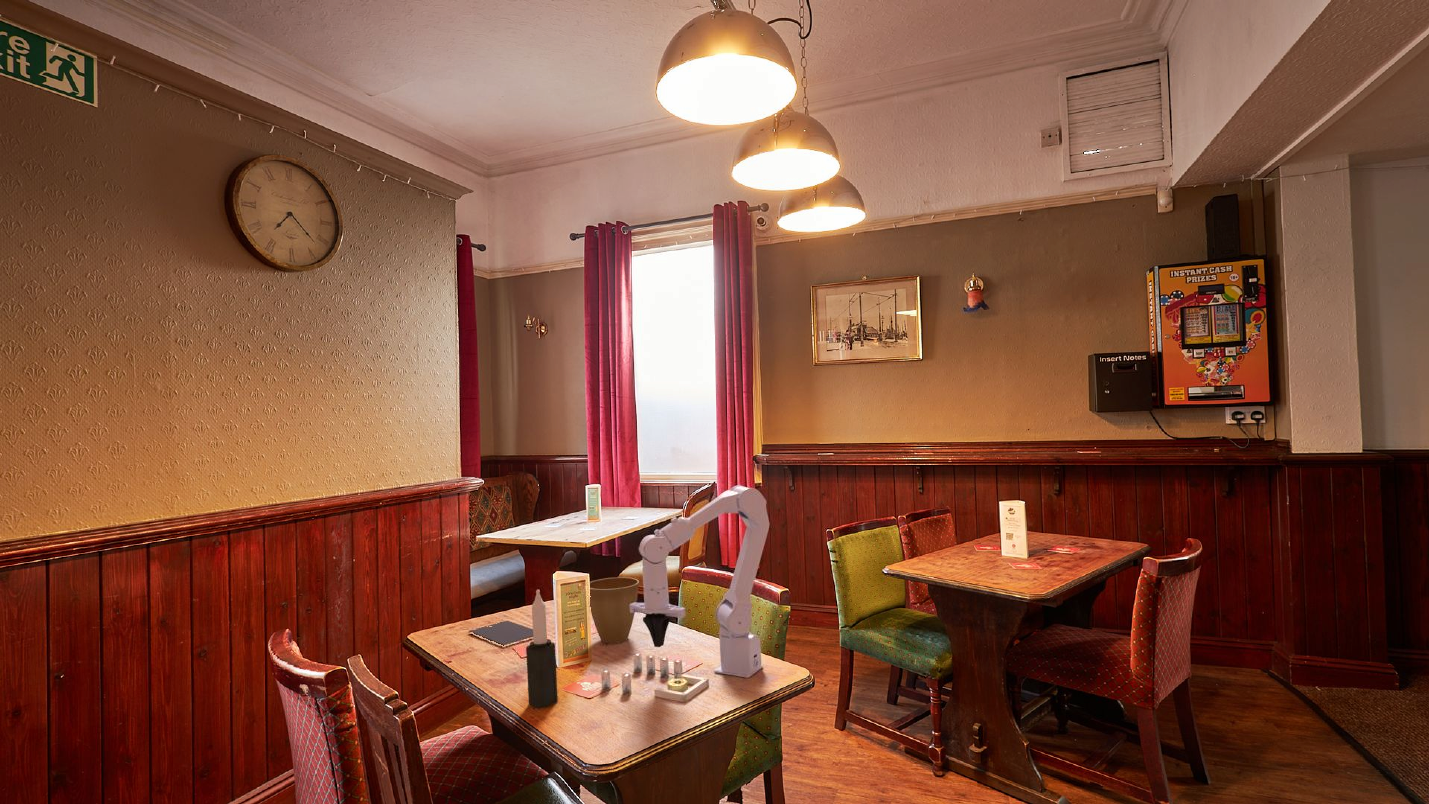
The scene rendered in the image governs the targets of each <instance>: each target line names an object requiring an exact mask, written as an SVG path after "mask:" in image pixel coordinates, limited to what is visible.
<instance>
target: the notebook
mask: <svg viewBox="0 0 1429 804" xmlns="http://www.w3.org/2000/svg"><path fill="white" fill-rule="evenodd" d="M496 623H497V624H496ZM496 623H493V624H489V625H485V626H482V627H477V628H475V629H476V630H473V629H470V630H468V633H469V632H473V633H474V634H476V635H479V636H482V637H483V638H486V639H488V640H490V641H494V642H496V643H498V644H501V645H503V646H504V645H507V644H511V643H514V642H517V641H521V640H524V639H527V638H531V637H533V628H531V627H528V626H525V625H522V624H519V623H517V622H513V621H510V620H504V621H500V622H496ZM487 626H488V627H487ZM489 626H492V627H489Z"/></svg>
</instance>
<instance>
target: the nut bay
mask: <svg viewBox="0 0 1429 804" xmlns="http://www.w3.org/2000/svg"><path fill="white" fill-rule="evenodd" d="M677 679H684V680H686V681H687V682H688V685H692V686H691V687H688V690H687V691H685V692H684V693H682V692H676V691H671V690H668V689H665V688H661V687H656V688H654V697H657V698H661V699H662V698H663V699H667V700H672V701H677V702H682V703H686V702H687V701H689V700H690V699H692V698H693V697H695V696H696V695H697V694H699V693H700V692H702V691H704V690H705V689H706V688H707V687H709V686H710V684H709V683H710V682H709V678H706V677H701V676H699V677H698V676H694V675H687V674H678V675H677ZM701 690H702V691H701Z"/></svg>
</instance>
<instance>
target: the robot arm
mask: <svg viewBox="0 0 1429 804" xmlns="http://www.w3.org/2000/svg"><path fill="white" fill-rule="evenodd" d="M723 514H737V515H739V517H740V518H741V520H742V521H743V523H744V524H745V526H746V529H745V532H744V536H743V540H742V543H741V546H740V551H739V553H738V557H737V561H736V565H735V569H734V571H733V575H732V579H731V582H730V586H729V589H728V590H727V591H726V592H725V593H724V595H723V598H722V600H721V601H720V603H719V604H718V605H717V607H716V609H715V619H716V622H717V623H719V625H720V627H719V630H718V635H719V653H720V666H718V667H717V668H715V669H714V670H713V672H714V673H717V674H723V675H727V676H734V677H740V678H741V677H742V678H745V679H748V678H750V677H751V676H753V675H754V674H755V673H757V672H758V671H760V670H761V669H762V668H763V667H764V665H763V664H762V651H761V640H760V637H759V636H758V635H757V634H753V633H752V632H750V629H751V626H752V615H751V614H752V613H751V612H752V610H753V605H752V604H753V603H752V599H751V598H752V597H751V594H752V591H753V587H754V583H755V580H756V576H757V572H758V570H759V567H760V566H759V565H760V561H761V558H762V556H763V555H762V554H763V551H764V546H765V544H766V540H767V537H768V533H769V530H770V529H769V528H770V521H769V515H768V510H767V499H765V497H764V496H763V494H762V493H761V492H760V491H759V490H758V489H756V488H753V487H746V486H744V485H735V486H733V487H731V488H730V489H727V490H726V491H723V492H722V493H721V494H720V495H718V496H717V497H715V498H714V499H712V500H711V501H710V502H709V503H706V505H704V506H703V507H701V508H700V509H698V510H697V511H695V512H694V513H693V514H692V515H690V516H689V517H684V516H679V517H678V518H677V517H673V518H671V519H670V523H668V524H667V525H665V526H663V527H662V528H660V529H657V528H656V529H655V530H654V532H653V533H654V534H649V535H646V536H644V537H643V539H642V540H641V541H640V544H639V546H638V552H639V554H640V555H641V556H642V584H643V585H642V586H643V599H644V600H643V601H644V602H637V603H632V604H630V613H634V614H635V613H638V614H645V616H644V617H642V622H643V623H644V625H645V626H646V628H647V630H648V631H649V635H650V637H651V639H652V642H653V643H652V644H653V646H654V648H661V647H662V646H664V644H665V639H666V634H667V629H668V627H669V624H670V622H671V620H672V618H674V617H675V618H677V619H683V618H685V617H686V607H683V606H678V605H674V604H671V603H670V599H669V583H668V567H667V558H668V556H669V553H671V552H673V551H674V550H676V549H678V548H679V547H680V546H682V545H684V544H685V543H687V542H688V541H689V540H691V539H693V538H694V536H695V533H696V530H698V529H699V528H700V527H702V526H704V525H706V524H707V523H710V521H712V520H714V519H715V518H718V517H719V516H721V515H723Z"/></svg>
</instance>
